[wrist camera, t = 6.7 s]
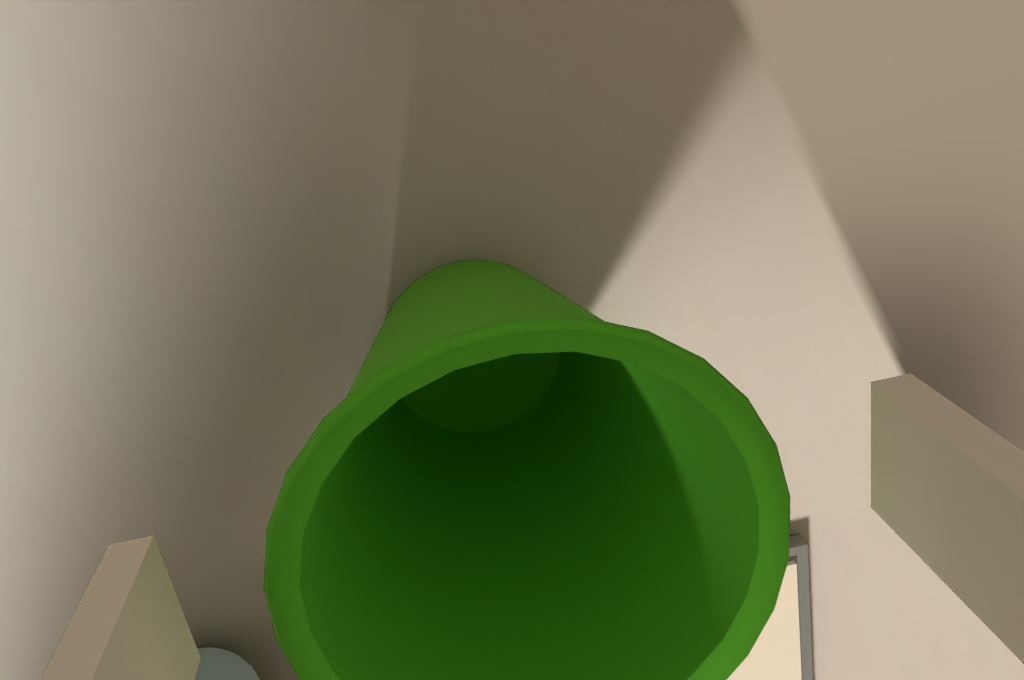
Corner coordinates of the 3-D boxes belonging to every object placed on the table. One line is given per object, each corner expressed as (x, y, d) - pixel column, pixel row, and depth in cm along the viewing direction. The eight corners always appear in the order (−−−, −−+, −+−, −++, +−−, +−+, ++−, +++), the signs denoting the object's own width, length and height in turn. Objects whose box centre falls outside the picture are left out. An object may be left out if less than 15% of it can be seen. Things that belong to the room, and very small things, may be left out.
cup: (516, 118, 23) (630, 203, 12) (680, 373, 26) (876, 605, 16) (242, 312, 23) (137, 542, 13) (435, 535, 27) (472, 857, 16)
